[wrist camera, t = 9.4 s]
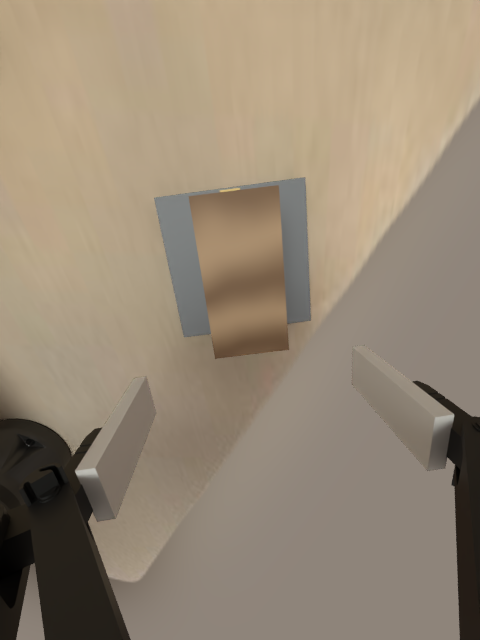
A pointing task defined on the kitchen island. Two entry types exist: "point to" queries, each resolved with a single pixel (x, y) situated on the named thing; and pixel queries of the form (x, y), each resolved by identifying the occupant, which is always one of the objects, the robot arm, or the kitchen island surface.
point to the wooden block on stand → (242, 269)
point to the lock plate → (186, 260)
